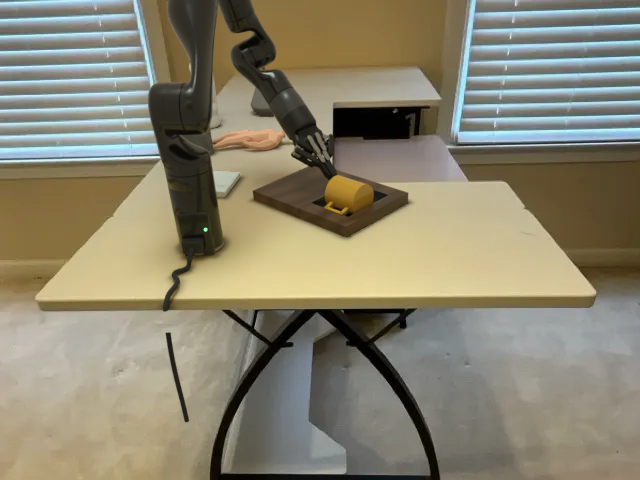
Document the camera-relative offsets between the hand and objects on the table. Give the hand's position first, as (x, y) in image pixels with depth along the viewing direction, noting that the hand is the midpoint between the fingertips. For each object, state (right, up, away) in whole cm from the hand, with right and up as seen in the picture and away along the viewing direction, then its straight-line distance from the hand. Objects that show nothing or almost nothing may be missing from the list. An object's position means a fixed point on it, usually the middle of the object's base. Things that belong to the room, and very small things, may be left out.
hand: (333, 177), depth 138 cm
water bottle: (-39, +30, +54) cm, 73 cm away
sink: (+4, -7, +1) cm, 8 cm away
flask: (-41, +15, +33) cm, 55 cm away
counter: (-1, -5, +5) cm, 7 cm away
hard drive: (-29, +1, +14) cm, 32 cm away
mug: (0, -4, -1) cm, 4 cm away
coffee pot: (-21, +40, +67) cm, 81 cm away
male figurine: (-23, +19, +38) cm, 48 cm away
